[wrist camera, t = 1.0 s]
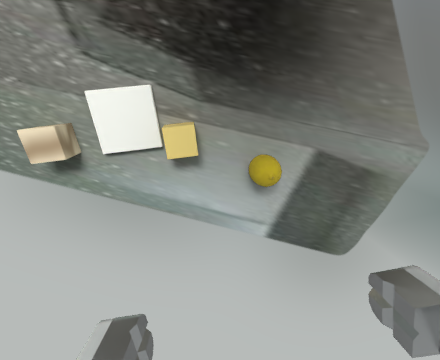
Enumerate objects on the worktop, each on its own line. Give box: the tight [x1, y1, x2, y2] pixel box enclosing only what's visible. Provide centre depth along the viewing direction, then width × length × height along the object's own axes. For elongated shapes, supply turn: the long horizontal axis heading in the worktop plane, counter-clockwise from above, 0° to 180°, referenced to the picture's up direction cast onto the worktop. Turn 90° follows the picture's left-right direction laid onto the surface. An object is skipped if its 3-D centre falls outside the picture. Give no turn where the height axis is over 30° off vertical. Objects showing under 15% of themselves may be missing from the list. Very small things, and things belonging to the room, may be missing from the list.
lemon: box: [249, 155, 282, 187], centre depth 39 cm, size 6×6×8 cm
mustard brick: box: [162, 122, 198, 159], centre depth 36 cm, size 5×5×5 cm
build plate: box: [84, 85, 163, 154], centre depth 36 cm, size 10×10×1 cm
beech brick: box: [17, 123, 81, 164], centre depth 34 cm, size 5×5×5 cm
